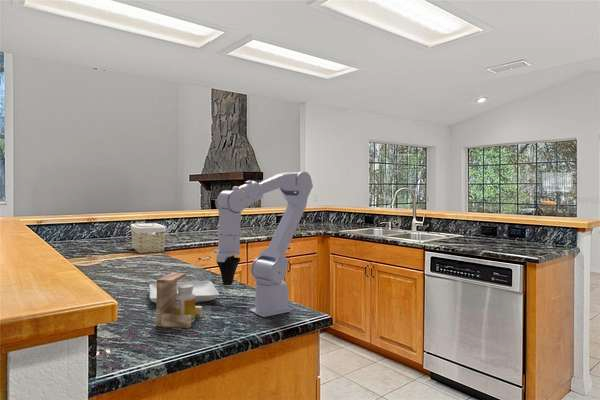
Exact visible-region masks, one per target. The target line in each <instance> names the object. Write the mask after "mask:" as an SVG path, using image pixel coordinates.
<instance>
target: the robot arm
mask: <svg viewBox="0 0 600 400" xmlns="http://www.w3.org/2000/svg"><path fill="white" fill-rule="evenodd" d="M312 180H313V179H312V177H311V175H310V174H309V172H307V171H299V172H298V171H297V172H295V171H294V172H292V171H291V172H288V171H283V172H281V173H277V174H275V175H273V176H271V177H268V178H266V179H265V180H263V181H261V182H257V181H255V180H247V181H245V184H242V185H240V186H237V185H236V186H235V185H234V186H233V187H232V189H231V190H223V191H221V192H219V194H218V196H217V199H215V201H214V204H215V207H216V208H217V211H218V216H219V217H218V222H219V223H218V224H219V225H218V244H217V245H218V246H217V249H215V250H213V254H216V260H215V262H216V264H217V266H218V268H219V271H220V275H221V280H222V284H223V286H232V284H233V283H234V278H235V274H236V270H237V268H238V266H239V263H240V262H241V257H236V256H239V255H240V254H241V249H240V248H241V247H240V246H241V224H242V223H241V221H242V219H241V218H242V217H241V215H242V212H243V211H244V210H245V209H246V207H247V206H249V205H252V204H254V203H256V202H258V201H260V200H262V198H263V195H264V194H267V193H269V192H272V191H275V190H277V189H279V191H280V192H281V194H282V196H283V198H284V200H285V201H286V202H287V206H286V209H284V210H285V211H284V212H283V215H282V217H281V218H280V221H279V223H278V226H277V227H276V230H275V231H274V234H273V236H272V238H271V240H270V243H269V245H268V247H267V248H266V249H263V250H262V251H261V252H259V253H258V254H259V255H258V256H257V257H256V258H255V259H254V261H253V262H252V263H251V267H250V273H251V276H252V277H253V278H254V282H255V305H254V306H255V307H253V308H250V309H249V311H250V312H251V313H254V314H256V315H258V316H260V317H263V318H266V317H270V316H276V315H281V314H285V313H289V312H291V310H290V309H289V287H288V284H287V282H285V281H284V279H285V278H286V274H287V267H288V264H289V260H288V259H287V257H286V253H287V251H288V248H289V246H290V243H291V242H292V239H293V237H294V235H295V232H296V230H297V228H298V226H299V224H300V221H301V220H302V217H303V215H304V212H305V210H306V208H307V204H308V198H309V195H310V194H311V191H312V189H313V187H314V185H313V182H312Z"/></svg>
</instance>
